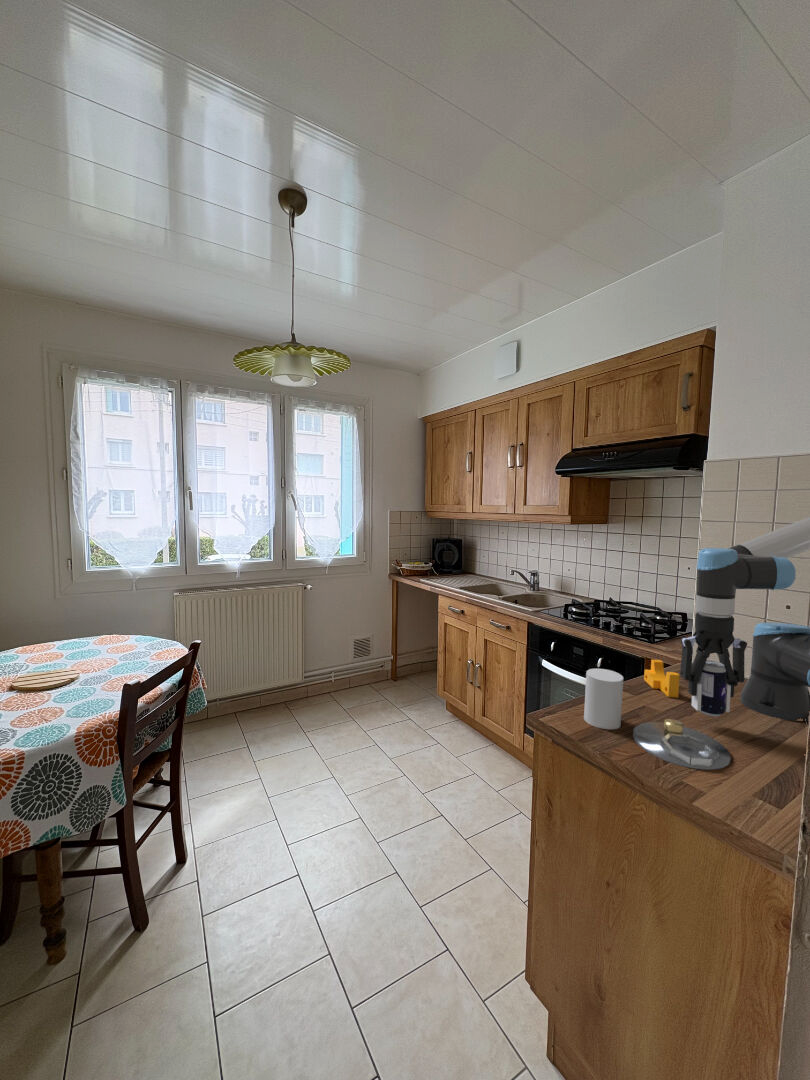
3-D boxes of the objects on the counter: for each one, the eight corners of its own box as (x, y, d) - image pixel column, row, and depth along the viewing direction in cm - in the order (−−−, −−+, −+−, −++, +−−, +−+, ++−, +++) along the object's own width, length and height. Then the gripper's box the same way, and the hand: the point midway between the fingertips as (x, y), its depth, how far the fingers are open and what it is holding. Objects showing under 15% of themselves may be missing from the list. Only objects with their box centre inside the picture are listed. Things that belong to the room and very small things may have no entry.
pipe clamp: (644, 679, 134) (645, 659, 134) (659, 680, 134) (660, 660, 133) (661, 696, 123) (663, 674, 122) (678, 697, 122) (679, 675, 122)
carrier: (701, 730, 104) (702, 713, 103) (750, 776, 86) (752, 756, 86) (621, 724, 106) (622, 707, 106) (652, 768, 88) (654, 748, 88)
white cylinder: (625, 722, 107) (627, 674, 106) (613, 735, 101) (616, 684, 100) (591, 711, 112) (593, 666, 111) (578, 722, 106) (581, 674, 106)
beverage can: (725, 720, 101) (728, 669, 100) (696, 714, 104) (698, 665, 103) (723, 710, 106) (725, 662, 105) (695, 705, 109) (697, 657, 108)
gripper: (747, 610, 106) (742, 703, 108) (665, 609, 108) (661, 700, 110) (768, 618, 98) (763, 718, 100) (679, 617, 101) (676, 714, 103)
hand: (710, 708), depth 105 cm, fingers closed on beverage can, 6 cm apart
